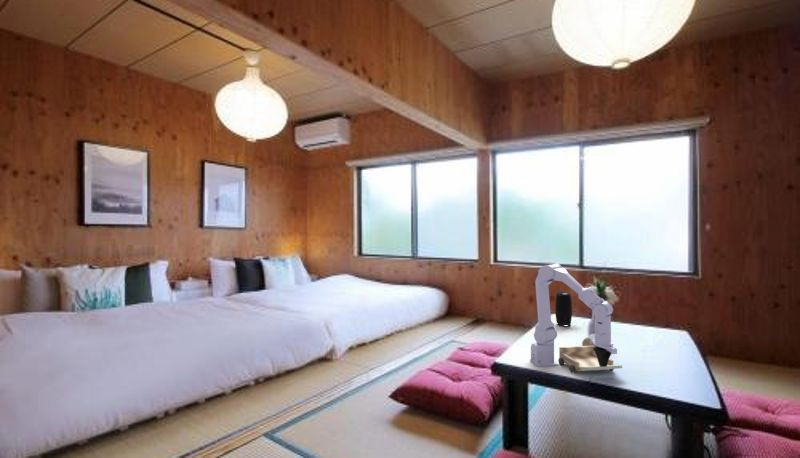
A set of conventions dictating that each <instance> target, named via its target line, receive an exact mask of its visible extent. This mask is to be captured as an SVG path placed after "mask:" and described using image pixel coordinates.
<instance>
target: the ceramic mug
mask: <svg viewBox="0 0 800 458" xmlns="http://www.w3.org/2000/svg"><path fill="white" fill-rule="evenodd" d="M590 338H595V333H590V334H589V335H588V336H586V337H585V338H584V339H583V340H582V341H581V342H582V343H581V344H582V345H581V346H594V347H597V346H595V345H594V344H591V343H590Z"/></svg>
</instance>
